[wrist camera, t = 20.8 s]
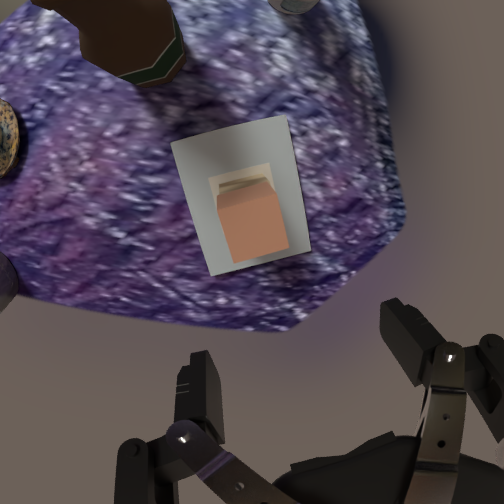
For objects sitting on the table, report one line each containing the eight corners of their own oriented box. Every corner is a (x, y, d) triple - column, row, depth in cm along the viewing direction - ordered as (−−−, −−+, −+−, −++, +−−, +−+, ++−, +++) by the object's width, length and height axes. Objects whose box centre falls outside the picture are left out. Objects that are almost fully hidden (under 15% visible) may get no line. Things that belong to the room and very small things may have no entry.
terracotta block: (231, 241, 31) (233, 263, 26) (216, 195, 29) (216, 210, 24) (278, 228, 31) (289, 247, 26) (266, 181, 29) (276, 193, 24)
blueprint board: (211, 271, 39) (211, 276, 38) (171, 142, 32) (170, 143, 31) (308, 246, 39) (311, 250, 38) (283, 114, 32) (285, 114, 31)
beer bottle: (201, 64, 28) (174, -38, 7) (143, 102, 29) (16, 82, 8) (168, 16, 25) (104, -108, 4) (111, 54, 26) (-23, -8, 5)
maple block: (230, 224, 35) (232, 241, 31) (219, 184, 33) (219, 194, 29) (271, 214, 35) (279, 228, 31) (262, 173, 33) (269, 182, 29)
